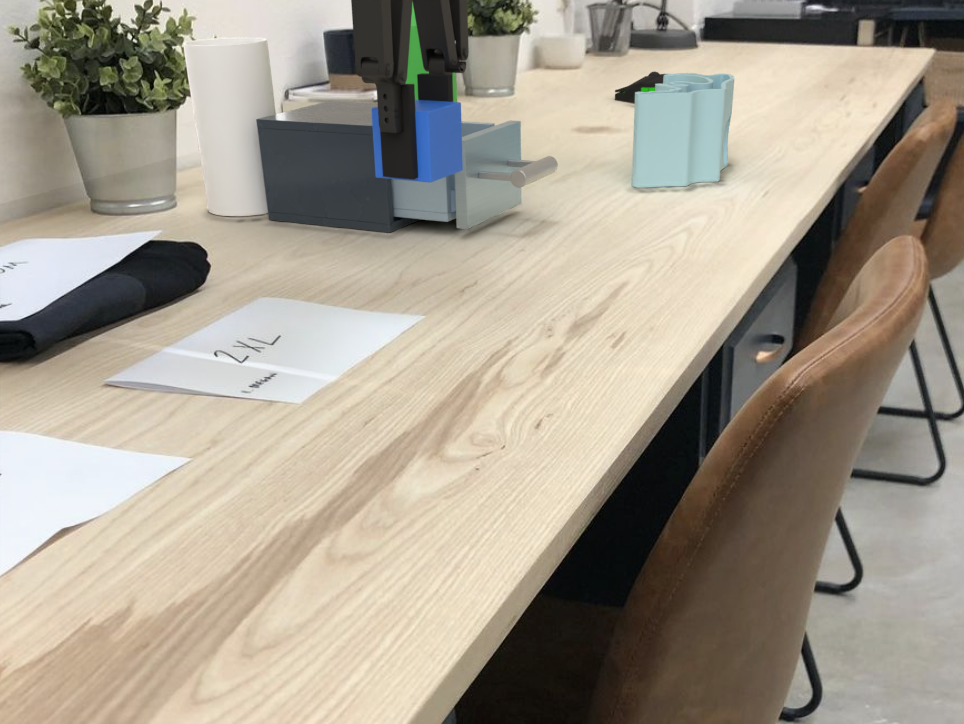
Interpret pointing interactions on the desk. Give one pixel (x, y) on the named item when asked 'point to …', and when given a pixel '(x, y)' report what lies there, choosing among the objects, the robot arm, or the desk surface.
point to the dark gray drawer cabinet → (325, 168)
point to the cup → (230, 119)
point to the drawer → (474, 179)
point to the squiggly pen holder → (682, 130)
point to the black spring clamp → (639, 87)
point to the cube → (430, 140)
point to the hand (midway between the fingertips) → (419, 169)
